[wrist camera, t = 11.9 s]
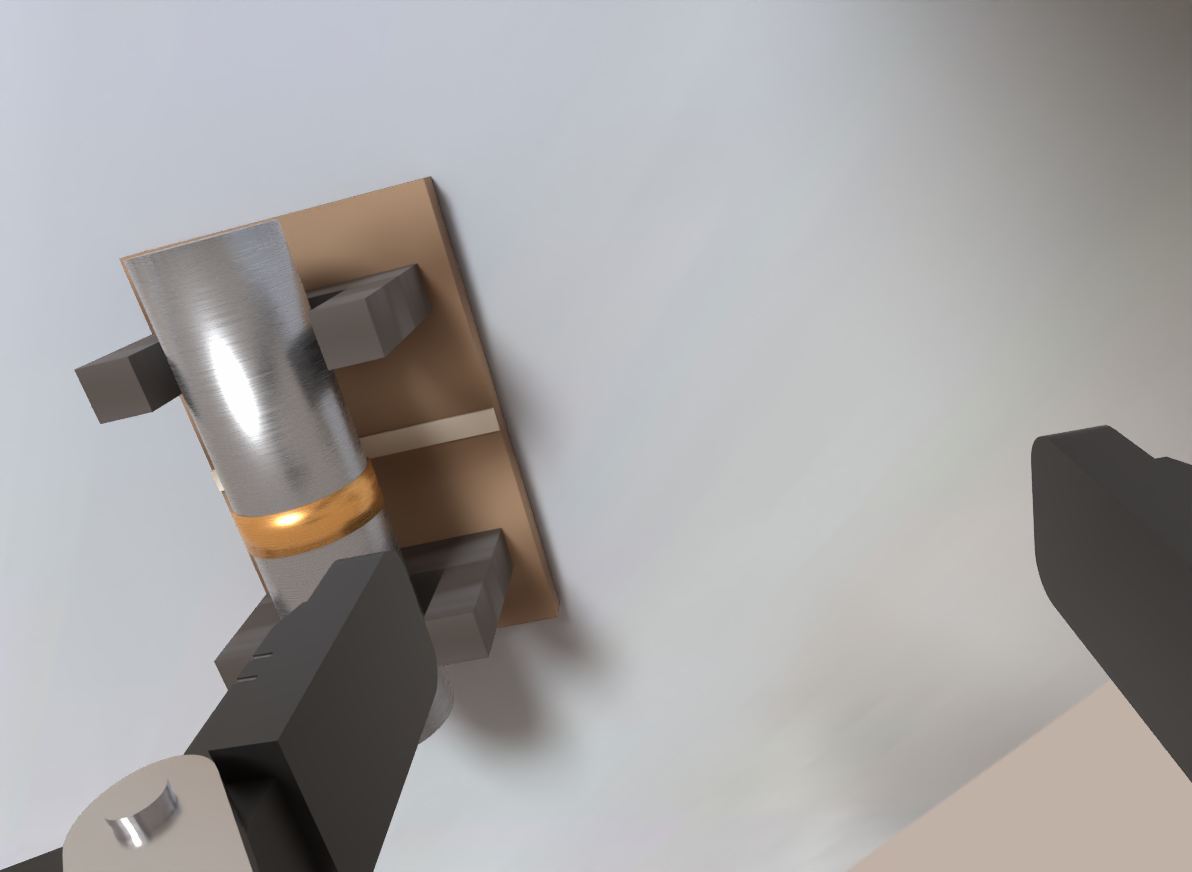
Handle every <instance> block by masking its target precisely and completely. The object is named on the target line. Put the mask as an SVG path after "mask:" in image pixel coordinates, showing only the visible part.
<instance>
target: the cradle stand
mask: <svg viewBox="0 0 1192 872" xmlns="http://www.w3.org/2000/svg"><path fill="white" fill-rule="evenodd" d="M275 219H278V220H279V222H280V225H281V228H282V230H283V233H284V236H285V239H286V241H287V244H288V247H289V249H290V252H291V255H292V258H293V260H294V263H295V266H296V268H297V271H298V274H299V276H300V279H301V282H302V285H303V287H304V290H305V293H306V295H307V298H308V301H309V304H310V306H311V309H312V310H311V311H309V312H307V314H308V317H309V320H310V322H311V325H312V328H313V330H314V333H315V336H316V338H317V341H318V344H319V347H320V349H321V352H322V355H323V357H324V360H325V363H326V365H327V368H328V371H329V370H333V369H334V371H335V374H336V377H337V380H338V382H339V385H340V388H341V390H342V393H343V396H344V398H345V401H346V404H347V407H348V409H349V412H350V415H351V417H352V420H353V423H354V426H355V428H356V431H357V434H358V436H359V439H360V442H361V445H362V447H363V450H364V453H365V455H366V457H368V458H369V459H370V461H371V464H372V467H373V469H374V472H375V475H376V477H377V480H378V483H379V486H380V488H381V491H382V494H383V496H384V507H385V510H386V512H387V515H388V518H389V520H390V523H391V526H392V529H393V531H394V534H395V537H396V539H397V542H398V545H399V548H400V550H401V553H402V556H403V558H404V561H405V564H406V567H407V569H408V572H409V575H410V577H411V580H412V583H413V586H414V588H415V591H416V594H417V596H418V599H419V602H420V605H421V607H422V610H423V613H424V615H425V616H424V621H425V624H426V627H427V630H428V632H429V635H430V638H431V641H432V644H433V647H434V650H435V654H436V660H437V664H438V666H441V665H447V664H452V663H458V662H464V661H469V660H475V659H480V658H486V657H488V656H489V653H490V649H491V646H492V642H493V638H494V635H495V631H496V628H501V627H506V626H512V625H517V624H523V623H528V622H533V621H539V620H544V619H550V618H555V617H558V611H559V605H560V602H559V599H558V595H557V592H556V589H555V585H554V582H553V579H552V575H551V572H550V569H549V566H548V562H547V559H546V556H545V552H544V549H543V546H542V542H541V539H540V536H539V533H538V529H537V526H536V523H535V519H534V516H533V513H532V509H531V506H530V503H529V499H528V496H527V493H526V490H525V486H524V483H523V480H522V476H521V473H520V470H519V466H518V463H517V460H516V457H515V453H514V450H513V447H512V443H511V440H510V437H509V433H508V430H507V427H506V423H505V420H504V417H503V414H502V410H501V407H500V404H499V400H498V397H497V394H496V390H495V387H494V384H493V381H492V377H491V374H490V371H489V367H488V364H487V361H486V357H485V354H484V351H483V348H482V344H481V341H480V338H479V334H478V331H477V328H476V324H475V321H474V318H473V314H472V311H471V308H470V305H469V301H468V298H467V295H466V291H465V288H464V285H463V281H462V278H461V275H460V272H459V268H458V265H457V262H456V258H455V255H454V252H453V248H452V245H451V242H450V238H449V235H448V232H447V229H446V225H445V222H444V219H443V215H442V212H441V209H440V205H439V202H438V199H437V196H436V192H435V189H434V186H433V182H432V179H431V176H430V177H426V178H423V179H419V180H415V181H411V182H407V183H404V184H400V185H396V186H392V187H388V188H385V189H381V190H377V191H373V192H369V193H366V194H362V195H358V196H354V197H350V198H347V199H343V200H339V201H335V202H331V203H328V204H324V205H320V206H316V207H312V208H309V209H305V210H301V211H297V212H293V213H290V214H286V215H282V216H278V217H274V218H271V219H267V220H263V221H259V222H255V223H252V224H248V225H244V226H240V227H236V228H233V229H229V230H225V231H221V232H217V233H214V234H210V235H206V236H202V237H198V238H195V239H191V240H187V241H183V242H179V243H176V244H172V245H168V246H164V247H160V248H157V249H153V250H149V251H145V252H141V253H138V254H134V255H130V256H127V257H123V258H120V261H121V264H122V266H123V268H124V271H125V273H126V275H127V277H128V280H129V282H130V284H131V287H132V289H133V291H134V293H135V296H136V298H137V300H138V302H139V305H140V307H141V309H142V312H143V314H144V316H145V318H146V321H147V323H148V325H149V327H150V330H151V332H152V335H150V336H148V337H145V338H143V339H141V340H139V341H137V342H134V343H132V344H130V345H128V346H126V347H124V348H121V349H119V350H117V351H115V352H113V353H110V354H108V355H106V356H104V357H102V358H99V359H97V360H95V361H93V362H91V363H88V364H86V365H84V366H82V367H80V368H77V369H75V372H76V374H77V376H78V378H79V380H80V383H81V385H82V387H83V389H84V391H85V393H86V395H87V397H88V399H89V401H90V403H91V406H92V408H93V410H94V412H95V414H96V416H97V418H98V420H99V422H100V424H103V423H107V422H111V421H116V420H120V419H124V418H128V417H133V416H137V415H141V414H145V413H150V412H153V411H155V410H156V409H158V408H160V407H161V406H163V405H164V404H166V403H168V402H169V401H171V400H173V399H174V398H176V397H177V396H180V398H181V400H182V403H183V405H184V407H185V409H186V412H187V414H188V416H189V418H190V421H191V423H192V425H193V428H194V430H195V432H196V434H197V437H198V439H199V441H200V443H201V446H202V448H203V450H204V453H205V455H206V457H207V459H208V462H209V464H210V466H211V469H212V471H211V473H212V475H213V477H214V479H215V482H216V484H217V486H218V488H219V491H222V494H223V496H224V498H225V500H226V503H227V505H228V507H229V509H230V512H231V504H230V502H229V500H228V498H227V495H226V493H225V491H224V488H223V486H222V484H221V482H220V479H219V477H218V475H217V472H216V470H215V468H214V466H213V463H212V461H211V459H210V456H209V454H208V452H207V450H206V447H205V445H204V443H203V440H202V438H201V436H200V434H199V431H198V429H197V427H196V424H195V422H194V420H193V418H192V415H191V413H190V411H189V408H188V406H187V404H186V402H185V399H184V397H183V395H182V393H181V390H180V388H179V386H178V383H177V381H176V379H175V377H174V374H173V372H172V370H171V367H170V365H169V363H168V361H167V358H166V356H165V354H164V351H163V349H162V347H161V345H160V342H159V340H158V338H157V335H156V333H155V331H154V329H153V326H152V324H151V322H150V319H149V317H148V315H147V313H146V310H145V308H144V306H143V303H142V301H141V299H140V297H139V294H138V292H137V290H136V287H135V285H134V283H133V281H132V278H131V276H130V274H129V272H128V269H127V267H126V265H125V262H124V260H127V259H130V258H133V257H137V256H140V255H144V254H147V253H151V252H155V251H158V250H162V249H165V248H169V247H173V246H176V245H180V244H184V243H187V242H191V241H195V240H198V239H202V238H206V237H210V236H213V235H217V234H221V233H225V232H228V231H232V230H236V229H240V228H244V227H248V226H251V225H255V224H259V223H263V222H267V221H271V220H275ZM248 553H249V552H248ZM249 555H250V554H249ZM250 557H251V560H252V562H253V564H254V566H255V569H256V571H257V573H258V575H259V578H260V580H261V582H262V585H263V587H264V589H265V591H266V595H265V597H264V598H263V599H262V601H261V602H260V603H259V604H258V606H257V607H256V608H255V610H254V611H253V612H252V613H251V615H250V616H249V617H248V619H247V620H246V621H245V622H244V624H243V625H242V626H241V628H240V629H239V630H238V631H237V633H236V634H235V635H234V637H233V638H232V639H231V640H230V642H229V643H228V644H227V646H226V647H225V648H224V649H223V651H222V652H221V653H220V655H219V656H218V657H217V658H216V660H215V661H214V662H215V664H216V666H217V668H218V670H219V672H220V675H221V677H222V679H223V681H224V683H225V685H226V687H227V689H228V690H229V689H230V687H231V686H232V684H237V677H238V676H239V674H240V673H241V671H242V670H243V669H244V667H245V666H246V664H247V663H248V661H252V660H253V654H254V653H255V651H256V650H257V649H258V647H259V646H260V644H261V643H262V641H263V640H264V639H265V637H266V636H267V634H268V633H269V631H270V630H271V629H272V628H273V627H274V626H275V625H276V624H277V623H279V622H280V621H281V619H280V616H279V614H278V612H277V609H276V607H275V605H274V603H273V600H272V598H271V596H270V593H269V591H268V589H267V587H266V584H265V582H264V580H263V577H262V575H261V573H260V571H259V568H258V566H257V564H256V561H255V559H254V557H253V556H252V555H250Z"/></svg>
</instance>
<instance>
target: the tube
mask: <svg viewBox="0 0 1192 872" xmlns="http://www.w3.org/2000/svg"><path fill="white" fill-rule="evenodd" d="M124 262H125V265H126V267H127V269H128V272H129V274H130V276H131V278H132V281H133V283H134V285H135V287H136V290H137V292H138V294H139V297H140V299H141V301H142V303H143V306H144V308H145V310H146V313H147V315H148V317H149V319H150V322H151V324H152V326H153V329H154V331H155V333H156V335H157V338H158V340H159V342H160V345H161V347H162V349H163V351H164V354H165V356H166V358H167V361H168V363H169V365H170V367H171V370H172V372H173V374H174V377H175V379H176V381H177V383H178V386H179V388H180V390H181V393H182V395H183V397H184V399H185V402H186V404H187V406H188V408H189V411H190V413H191V415H192V418H193V420H194V422H195V424H196V427H197V429H198V431H199V434H200V436H201V438H202V440H203V443H204V445H205V447H206V450H207V452H208V454H209V456H210V459H211V461H212V463H213V466H214V468H215V470H216V472H217V475H218V477H219V479H220V482H221V484H222V486H223V488H224V491H225V493H226V495H227V498H228V500H229V502H230V504H231V514H232V516H233V519H234V521H235V523H236V526H237V528H238V530H239V532H240V535H241V537H242V539H243V542H244V544H245V546H246V548H247V551H248V552H249V554H250V555H252V556H253V557H254V559H255V561H256V564H257V566H258V568H259V571H260V573H261V575H262V577H263V580H264V582H265V584H266V587H267V589H268V591H269V593H270V596H271V598H272V600H273V603H274V605H275V607H276V609H277V612H278V614H279V616H280V619H281V620H282V619H283V618H285V617H286V616H287V615H288V614H289V613H291V612H292V611H293V610H294V609H295V608H297V607H298V606H299V605H300V604H301V603H303V602H307V601H308V599H309V598H310V596H311V595H312V593H313V592H314V590H315V589H316V587H317V586H318V584H319V583H320V581H321V580H322V578H323V577H324V575H325V574H326V572H327V571H328V569H329V568H330V566H331V565H332V564H333V563H334V562H335V561H336V560H338V559H344V558H349V557H355V556H360V555H366V554H372V553H377V552H383V551H389V550H391V551H394V552H396V553H397V554H398V555H399V557H400V558H401V560H402V562H403V563H404V566H405V568H406V571H407V574H408V577H409V579H410V582H411V585H412V588H413V591H414V593H415V596H416V599H417V602H418V604H419V607H420V610H421V613H422V616H423V618H424V616H425V615H424V613H423V610H422V607H421V605H420V602H419V599H418V596H417V594H416V591H415V588H414V586H413V583H412V580H411V577H410V575H409V572H408V569H407V567H406V564H405V561H404V558H403V556H402V553H401V550H400V548H399V545H398V542H397V539H396V537H395V534H394V531H393V529H392V526H391V523H390V520H389V518H388V515H387V512H386V510H385V507H384V496H383V494H382V491H381V488H380V486H379V483H378V480H377V477H376V475H375V472H374V469H373V467H372V464H371V461H370V459H369V458H368V457H366V455H365V453H364V450H363V447H362V445H361V442H360V439H359V436H358V434H357V431H356V428H355V426H354V423H353V420H352V417H351V415H350V412H349V409H348V407H347V404H346V401H345V398H344V396H343V393H342V390H341V388H340V385H339V382H338V380H337V377H336V374H335V371H334V369H333V370H329V371H328V368H327V365H326V363H325V360H324V357H323V355H322V352H321V349H320V347H319V344H318V341H317V338H316V336H315V333H314V330H313V328H312V325H311V322H310V320H309V317H308V314H307V312H309V311H311V310H312V309H311V306H310V304H309V301H308V298H307V295H306V293H305V290H304V287H303V285H302V282H301V279H300V276H299V274H298V271H297V268H296V266H295V263H294V260H293V258H292V255H291V252H290V249H289V247H288V244H287V241H286V239H285V236H284V233H283V230H282V228H281V225H280V222H279V220H278V219H275V220H271V221H267V222H263V223H259V224H255V225H251V226H248V227H244V228H240V229H236V230H232V231H228V232H225V233H221V234H217V235H213V236H210V237H206V238H202V239H198V240H195V241H191V242H187V243H184V244H180V245H176V246H173V247H169V248H165V249H162V250H158V251H155V252H151V253H147V254H144V255H140V256H137V257H133V258H130V259H127V260H124ZM437 671H438V681H437V690H436V694H435V698H434V700H433V703H432V706H431V709H430V712H429V715H428V717H427V720H426V723H425V726H424V729H423V732H422V734H421V737H420V740H419V743H418V744H420V743H421V742H423V741H424V740H426V739H427V738H428V737H430V736H431V735H432V734H433V733H434V732H435V731H436V730H437V729H439V728H440V726H441V725H442V724H443V723H444V722H445V720H446V719H447V717H448V716H449V714H450V712H451V710H452V707H453V703H454V695H453V691H452V689H451V686H450V683H449V680H448V678H447V675H446V672H445V670H444V667H443V665H441V666H438V664H437Z"/></svg>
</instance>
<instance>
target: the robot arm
mask: <svg viewBox="0 0 1192 872" xmlns="http://www.w3.org/2000/svg"><path fill="white" fill-rule="evenodd" d="M1031 469H1032V493H1033V516H1034V540H1035V556H1036V563H1037V567H1038V571H1039V575H1040V578H1041V581H1042V584H1043V587H1044V589H1045V591H1046V593H1047V596H1048V597H1049V599H1050V601H1051V602H1052V604H1053V605H1054V607H1055V608H1056V609H1057V611H1058V612H1059V613H1060V614H1061V616H1062V617H1063V618H1064V619H1065V621H1066V622H1067V623H1068V625H1069V626H1070V627H1071V628H1072V630H1073V631H1074V632H1075V634H1076V635H1077V636H1078V637H1079V639H1080V640H1081V641H1082V643H1083V644H1084V645H1085V646H1086V648H1087V649H1088V650H1089V651H1090V653H1091V654H1092V655H1093V657H1094V658H1095V659H1096V660H1097V662H1098V663H1099V664H1100V666H1101V667H1102V668H1103V669H1104V671H1105V672H1106V673H1107V675H1108V676H1109V677H1110V678H1111V680H1112V681H1113V682H1114V684H1115V685H1116V686H1117V687H1118V689H1119V690H1120V691H1121V692H1122V694H1123V695H1124V696H1125V698H1126V699H1127V700H1128V701H1129V703H1130V704H1131V705H1132V707H1133V708H1134V709H1135V710H1136V712H1137V713H1138V714H1139V716H1140V717H1141V718H1142V719H1143V721H1144V722H1145V723H1146V724H1147V726H1148V727H1149V728H1150V730H1151V731H1152V732H1153V733H1154V735H1155V736H1156V737H1157V739H1158V740H1159V741H1160V742H1161V744H1162V745H1163V746H1164V748H1165V749H1166V750H1167V751H1168V753H1169V754H1170V755H1171V757H1172V758H1173V759H1174V760H1175V762H1176V763H1177V764H1178V766H1179V767H1180V768H1181V769H1182V771H1183V772H1184V773H1185V774H1186V776H1187V777H1188V778H1189V780H1190V781H1191V782H1192V465H1190V464H1187V463H1184V462H1181V461H1178V460H1175V459H1172V458H1169V457H1162V458H1156V459H1154V458H1153V457H1152V456H1150V455H1149V454H1148V453H1146V452H1145V451H1143V450H1142V449H1141V448H1139V447H1138V446H1137V445H1135V444H1134V443H1133V442H1131V441H1130V440H1128V439H1127V438H1126V437H1124V436H1123V435H1122V434H1120V433H1119V432H1118V431H1116V430H1115V429H1113V428H1112V427H1110V426H1107V425H1104V426H1097V427H1092V428H1086V429H1080V430H1075V431H1069V432H1063V433H1058V434H1052V435H1046V436H1041V437H1038V438H1036V440H1035V441H1034V443H1033V446H1032V452H1031ZM437 681H438V671H437V660H436V654H435V650H434V647H433V644H432V641H431V638H430V635H429V632H428V630H427V627H426V624H425V621H424V618H423V616H422V613H421V610H420V607H419V604H418V602H417V599H416V596H415V593H414V591H413V588H412V585H411V582H410V579H409V577H408V574H407V571H406V568H405V566H404V563H403V562H402V560H401V558H400V557H399V555H398V554H397V553H396V552H394V551H391V550H389V551H383V552H377V553H372V554H366V555H360V556H355V557H349V558H344V559H338V560H336V561H335V562H334V563H333V564H332V565H331V566H330V568H329V569H328V571H327V572H326V574H325V575H324V577H323V578H322V580H321V581H320V583H319V584H318V586H317V587H316V589H315V590H314V592H313V593H312V595H311V596H310V598H309V599H308V601H307V602H303V603H301V604H300V605H299V606H298V607H297V608H295V609H294V610H293V611H292V612H291V613H289V614H288V615H287V616H286V617H285V618H283V619H282V620H281V621H280V622H279V623H277V624H276V625H275V626H274V627H273V628H272V629H271V630H270V631H269V633H268V634H267V636H266V637H265V639H264V640H263V641H262V643H261V644H260V646H259V647H258V649H257V650H256V651H255V653H254V654H253V660H252V661H248V663H247V664H246V666H245V667H244V669H243V670H242V671H241V673H240V674H239V676H238V677H237V684H232V686H231V687H230V689H229V690H228V692H227V693H226V694H225V696H224V697H223V699H222V700H221V702H220V703H219V704H218V706H217V707H216V709H215V710H214V712H213V713H212V714H211V716H210V717H209V719H208V720H207V722H206V723H205V724H204V726H203V727H202V729H201V730H200V732H199V733H198V734H197V736H196V737H195V739H194V740H193V742H192V743H191V744H190V746H189V747H188V749H187V750H186V752H185V753H184V755H181V756H175V757H171V758H167V759H164V760H160V761H158V762H155V763H153V764H150V765H148V766H146V767H143V768H141V769H139V770H137V771H135V772H133V773H132V774H130V775H128V776H127V777H125V778H123V779H122V780H120V781H119V782H117V783H116V784H114V785H113V786H111V787H110V788H109V789H107V790H106V791H105V792H104V793H102V794H101V795H100V796H99V797H98V798H96V799H95V800H94V801H93V802H92V803H91V804H90V805H89V806H88V807H87V808H86V809H85V810H84V811H83V812H82V814H81V815H80V816H79V817H78V818H77V820H76V821H75V823H74V824H73V825H72V827H71V829H70V830H69V832H68V834H67V836H66V839H65V842H64V844H63V847H61V848H58V849H56V850H53V851H50V852H48V853H45V854H42V855H40V856H37V857H34V858H32V859H29V860H26V861H24V862H21V863H18V864H16V865H13V866H10V867H8V868H5V869H2V870H0V872H373V871H374V868H375V865H376V862H377V859H378V856H379V854H380V851H381V848H382V845H383V842H384V839H385V837H386V834H387V831H388V828H389V825H390V822H391V820H392V817H393V814H394V811H395V808H396V805H397V803H398V800H399V797H400V794H401V791H402V788H403V786H404V783H405V780H406V777H407V774H408V771H409V769H410V766H411V763H412V760H413V757H414V754H415V751H416V749H417V746H418V743H419V740H420V737H421V734H422V732H423V729H424V726H425V723H426V720H427V717H428V715H429V712H430V709H431V706H432V703H433V700H434V698H435V694H436V690H437Z"/></svg>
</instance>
